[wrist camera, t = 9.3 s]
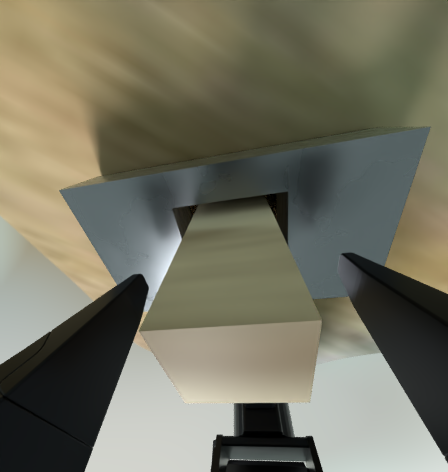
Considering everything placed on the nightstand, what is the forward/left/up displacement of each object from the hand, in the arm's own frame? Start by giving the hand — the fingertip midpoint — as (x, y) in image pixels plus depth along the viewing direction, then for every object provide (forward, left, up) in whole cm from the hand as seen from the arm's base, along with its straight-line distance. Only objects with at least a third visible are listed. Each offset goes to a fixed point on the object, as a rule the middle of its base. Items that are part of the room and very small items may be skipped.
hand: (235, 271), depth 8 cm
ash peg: (0, 0, -5) cm, 5 cm away
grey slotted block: (0, 0, -5) cm, 5 cm away
